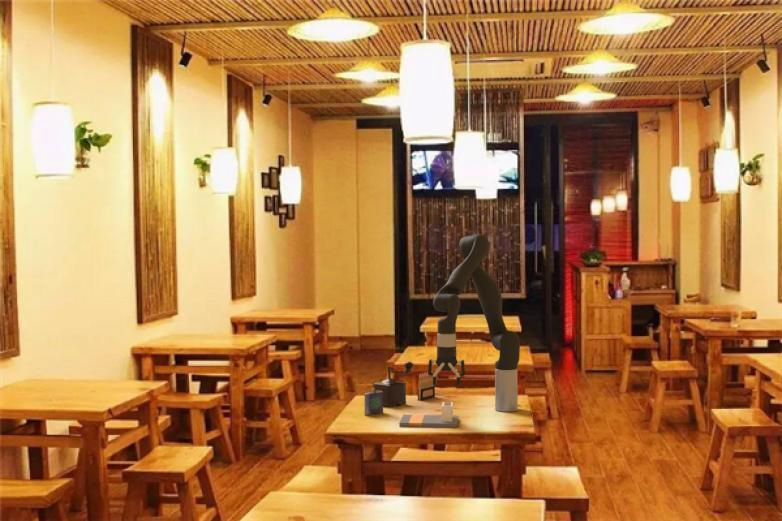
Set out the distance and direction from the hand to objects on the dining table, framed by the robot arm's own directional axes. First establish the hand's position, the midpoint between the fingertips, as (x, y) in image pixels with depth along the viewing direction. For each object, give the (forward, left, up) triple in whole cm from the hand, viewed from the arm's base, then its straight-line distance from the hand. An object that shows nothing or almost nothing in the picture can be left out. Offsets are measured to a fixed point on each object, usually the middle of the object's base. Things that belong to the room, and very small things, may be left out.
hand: (446, 386), depth 364 cm
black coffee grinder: (+25, -37, -15) cm, 47 cm away
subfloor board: (+7, 0, -14) cm, 16 cm away
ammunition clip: (+12, -49, -15) cm, 53 cm away
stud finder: (0, 0, -13) cm, 13 cm away
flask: (+31, -15, -15) cm, 37 cm away
